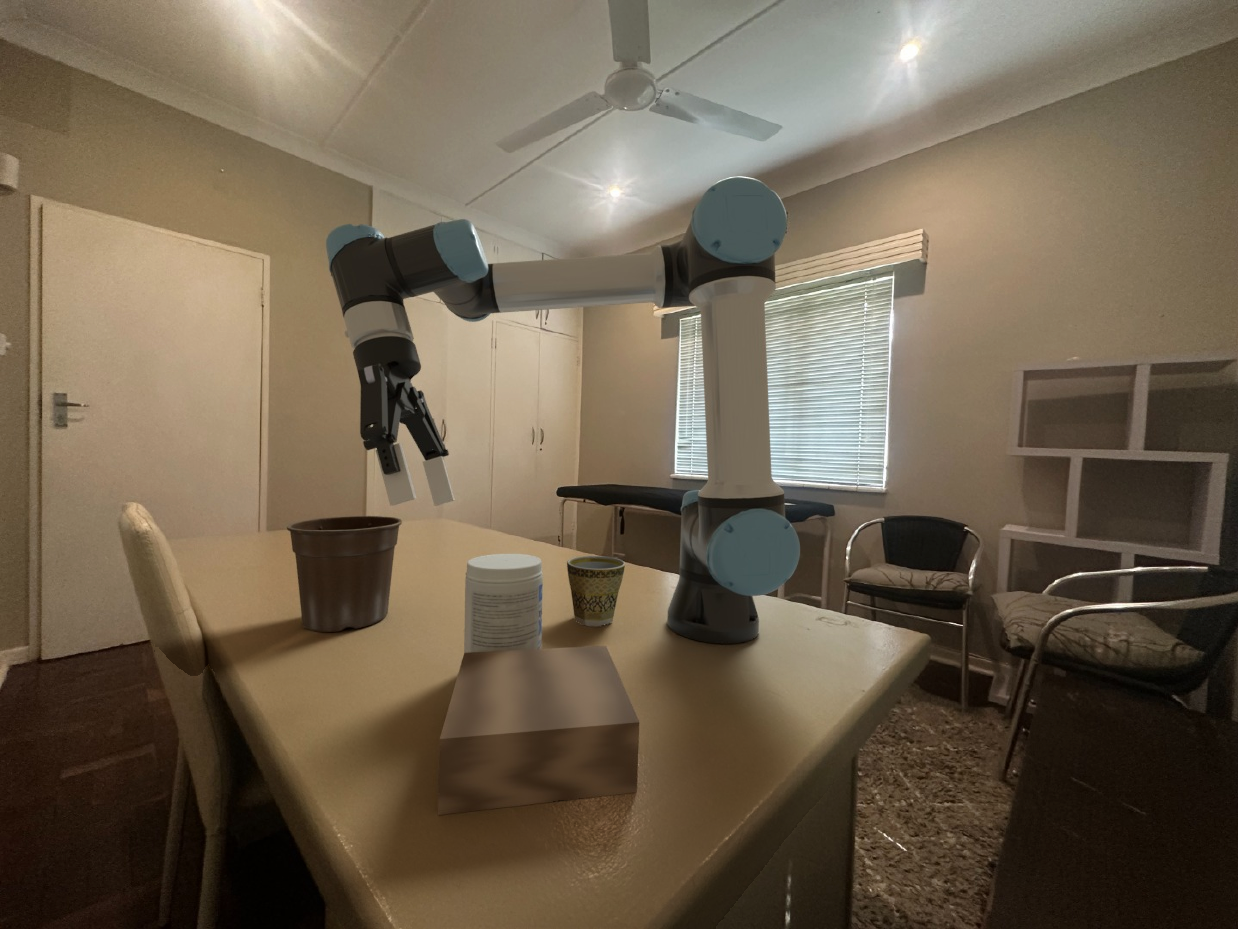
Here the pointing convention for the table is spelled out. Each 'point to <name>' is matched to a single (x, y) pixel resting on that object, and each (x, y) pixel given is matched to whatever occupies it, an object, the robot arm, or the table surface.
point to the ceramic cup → (594, 588)
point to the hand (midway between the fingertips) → (426, 502)
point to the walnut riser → (536, 730)
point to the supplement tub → (503, 603)
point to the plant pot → (344, 570)
